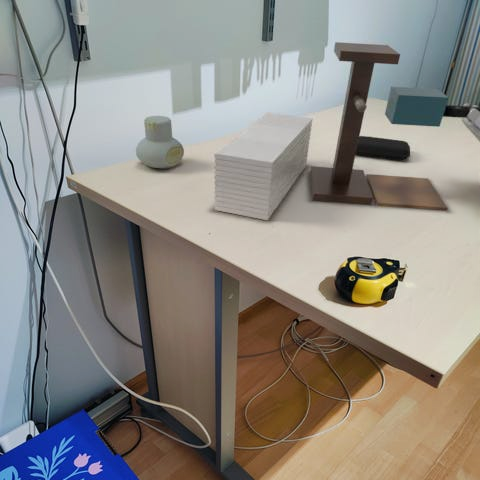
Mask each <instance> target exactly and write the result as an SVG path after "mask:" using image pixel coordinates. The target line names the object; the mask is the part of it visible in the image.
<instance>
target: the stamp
mask: <svg viewBox="0 0 480 480" xmlns="http://www.w3.org/2000/svg"><path fill="white" fill-rule="evenodd" d="M448 101H449V96H448V95H446V94H445V93H444V92H442V91H441V90H439V88H425V87H424V88H422V87H407V86H406V87H404V86H391V87H390V91H389V94H388V98H387V103H386V108H385V112H384V115H385V117H386V119H387V120H388V121H389V123H390V124H391V125H398V126H399V125H400V126H401V125H403V126H417V127H441V124H442V120H443V118H459V119H460V118H461V119H462V118H468V117H466V113H467V112H468V111H469V110H470V109H471V108H475V109H477V110H478V111H479V112H480V106H478V107H473V106H474V105H470V106H464V105H453V104H452V105H451V104H448Z"/></svg>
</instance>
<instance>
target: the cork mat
mask: <svg viewBox="0 0 480 480" xmlns="http://www.w3.org/2000/svg"><path fill="white" fill-rule="evenodd" d="M365 177H366V180H367V182H368V185H369V188H370V190H371V193H372V196H373V200H374V201H375V205H376V206H382V207H395V208H407V209H420V210H432V211H434V210H435V211H445V212H446V211H448V206H447V205H446V204H445V202H444V200H443V199H442V197H441V196H440V194H439V193H438V191H437V190H436V189H435V187H434V185H433V184H432V183H431V181H430V180H429V178H425V177H412V176H400V175H399V176H398V175H384V174H371V173H370V174H369V173H366V174H365Z"/></svg>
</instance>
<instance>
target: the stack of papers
mask: <svg viewBox="0 0 480 480" xmlns="http://www.w3.org/2000/svg"><path fill="white" fill-rule="evenodd" d="M312 126H313V117H306V116H297V115H290V114H283V113H276V112H266V113H265V114H264V115H262V116H261V117H260V118H258V119H257V120H256V121H255V122H253V123H252V124H251V125H249V126H248V127H247V128H246V129H244V130H242V132H240V133H239V134H238V135H237V136H235V137H234V138H232V139H230V141H228V142H227V143H226V144H225V145H224V146H222V147H221V148H220V149H219V150H217V151H216V152H214V211H218V212H223V213H229V214H233V215H239V216H244V217H248V218H254V219H259V220H264V221H269V219H270V218H271V216H272V215H273V213H274V212H275V210H276V209H277V208H278V206H279V205H280V204H281V202H282V201H283V199H284V198H285V196H286V195H287V194H288V192H289V191H290V190H291V188H292V187H293V185H294V184H295V182H296V181H297V179H298V178H299V177H300V175H301V174H302V172H303V171H304V170H305V168H306V167H307V161H308V155H309V154H308V153H309V147H310V139H311V132H312V128H313V127H312Z"/></svg>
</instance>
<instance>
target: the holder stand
mask: <svg viewBox="0 0 480 480" xmlns="http://www.w3.org/2000/svg"><path fill="white" fill-rule="evenodd" d="M333 48H334V49H333V52H334V54H335V56H336V58H337V60H338V62H348V63H349V62H350V63H351V64H350V70H349V75H348V80H347V87H346V91H345V98H344V103H343V108H342V113H341V114H342V115H341V119H340V126H339V131H338V137H337V141H336V142H337V143H336V148H335V153H334V159H333V164H332V167H329V166H316V165H315V166H313V165H311V166H310V171H309V174H310V175H309V176H310V185H311V186H310V187H311V197H312V201H315V202H317V201H318V202H326V203H327V202H328V203H342V204H356V205H367V206H368V205H369V206H371V205H373V201H374V197H373V194H372V191H371V188H370V186H369V183H368V180H367V178H366V174H365V172H364V170H363V169H355V168H354V164H355V158H356V155H357V154H356V150H357V145H358V140H359V136H361V130H362V125H363V120H364V115H365V112H366V110H367V102H368V96H369V92H370V87H371V82H372V78H373V77H372V76H373V73H374V68H375V64H382V65H383V64H384V65H399V62H400V57H401V54H400V53H399V52H398V51H397V50H395V49H393V48H392V47H391V46H390V45H388V44H373V43H358V42H357V43H355V42H340V41H339V42H338V41H337V42H334V47H333Z"/></svg>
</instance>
